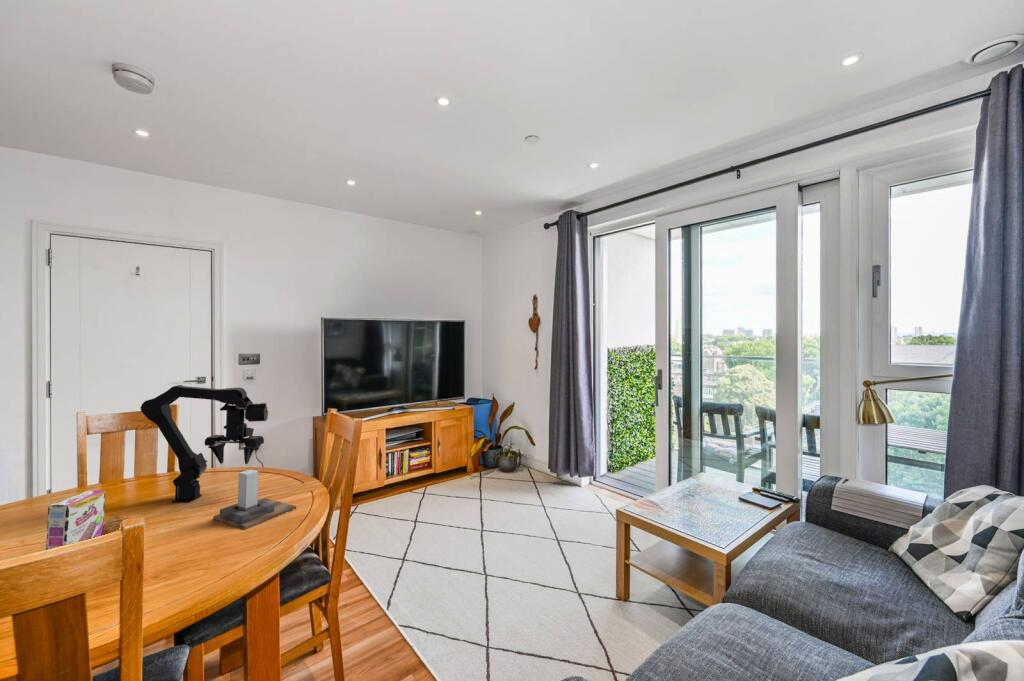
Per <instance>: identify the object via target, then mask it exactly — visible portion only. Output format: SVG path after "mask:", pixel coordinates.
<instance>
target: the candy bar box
mask: <svg viewBox="0 0 1024 681" xmlns="http://www.w3.org/2000/svg"><path fill="white" fill-rule="evenodd" d="M105 498H106V491H105V490H86V491H84V492H81V493H78V494H76V495H73V496H70V497H68V498H65V499H62V500H60V501H57V502H55V503H52V504H49V505H48V506H47V523H46V524H47V525H46V528H47V529H46V549H45V551H46V550H48V549H52V548H55V547H59V546H64V545H68V544H72V543H76V542H80V541H84V540H88V539H92V538H95V537H98V536H102V535H103V525H104V524H105V520H104V519H105V518H104V517H105V501H106V499H105Z"/></svg>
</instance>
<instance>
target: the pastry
mask: <svg viewBox="0 0 1024 681" xmlns="http://www.w3.org/2000/svg"><path fill="white" fill-rule="evenodd" d="M126 519H130V518H129V517H127V516H126V515H115V516H114V517H112V518H108V520H106V521H104V525H103V535H105V534H108V533H111V532H114V531H116V530H119V528H120V523H121V522H122V521H123V520H126Z"/></svg>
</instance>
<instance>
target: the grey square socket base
mask: <svg viewBox="0 0 1024 681" xmlns="http://www.w3.org/2000/svg"><path fill="white" fill-rule="evenodd" d="M295 508H296V509H297V505H293V504H290V503H285V502H281V501H279V500H274V499H271V498H267V497H264V498H261V499H258V505H257V507H256V508H254V509H251V510H248V511H245V512H244V511H241V510H238V502H237V503H234V504H232V505H230V506H227V507H223V508H220V509H219V514H215V515H213V516H212V517H213V518H214V519H216V520H215V521H217V520H219V521H218V522H220V521H222V522H221V523H224V522H225V523H224V524H227V523H228V525H231V526H234V527H236V528H239V529H243V530H249V529H250V528H253V527H255V526H257V525H260V524H263V523H265V522H267V520H268V521H270V520H273V519H275V518H278V517H280V516H282V515H281V514H283V515H285V514H287V513H286V512H288V513H290V512H292V511H294V510H293V509H295ZM296 509H295V510H296ZM291 510H292V511H291ZM289 511H290V512H289ZM284 513H285V514H284ZM279 515H280V516H279ZM277 516H278V517H277ZM274 517H275V518H274ZM213 518H212V519H213ZM272 518H273V519H272ZM214 519H213V520H214Z"/></svg>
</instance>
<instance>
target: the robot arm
mask: <svg viewBox="0 0 1024 681" xmlns="http://www.w3.org/2000/svg"><path fill="white" fill-rule="evenodd" d="M180 398H187V399H200V400H211V401H216V402H220V403H223V404H224V405H223V406H222V407H220V408H219V411H221V412H222V411H226V413H225V416H226V417H225V419H226V420H225V425H224V426H223V430H225V435H224V434H213V435H210V436H207V437H206V438H205V440H204V446H205V447H206V446H207V447H208V449H211V451H212V452H213V454H214V455H215V457H216V459H217V460H218V462H219V464H220V465H223V463H224V457H225V456H224V455H225V453H224V452H225V450H224V448H225V447H226V444H244V446H245V447H243V455H244V457H243V458H244V464H245V465H248V464H249V462H250V460H251V457H252V455H253V453H254V450H256V448H257V447H260V446H261V445H263V444H265V443H264V442H265V439H264V437H263V435H253V434H254V430H255V429H254V428H251V427H248V425H247V423H246V422H245V420H246V421H248V422H254V423H255V422H267V420H268V419H269V418H268V417H269V410H268V407H267V402H262V403H253V401H252V400H251V399H250V398H249V397H248V395H247V391H246V389H245V388H243V387H228V388H212V387H211V388H209V387H199V386H187V385H181V384H178V385H174V386H171V387H170V388H169V389H167V390H166V391H164V392H163V393H161V394H160V395H157V396H156V397H154V398H150V399H147V400H145V401H143V403H141V406H140V411H141V413H142V414H143V415H144V417H146V419H147V420H148V421H150V422H152V423H153V424H155V425H156V426H157V428H158V429H159V431H160V432H161V434H162V436H163V437H164V439H165V440H166V442H167V444H168V445H169V447H170V449H171V450H172V452H173V454H174V455H175V457H176V458H177V463H178V470H179V473H180V474H179V475H178V476H176V477H175V478H174V479H173V480H172V484H173V485H174V488H175V492H174V494H175V496H174V499H171V502H174V503H190V502H193V501H194V500H196V499H198V498H200V497H202V496H203V494H201V485H200V480H198V479H199V478H201V476H202V475H203V474H204V473H205V472H206V470H207V468H208V464H207V463H208V460H206V459H205V458H204V457H205V456H204V454H203V453H202V452H200V453H196V452H194V451H193V450H192V448H191V447H190V445H189V444H188V442H187V440H186V438H185V437H184V435H183V434H182V432H181V430H180V429H179V427H178V426H177V424H176V422H175V420H174V419H173V414H172V408H171V405H172V404H174V402H176V400H179V399H180Z"/></svg>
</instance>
